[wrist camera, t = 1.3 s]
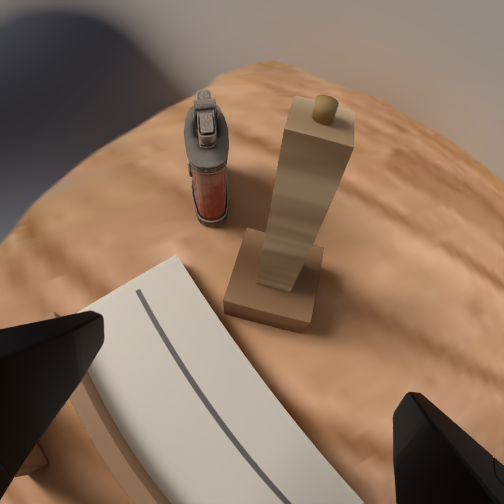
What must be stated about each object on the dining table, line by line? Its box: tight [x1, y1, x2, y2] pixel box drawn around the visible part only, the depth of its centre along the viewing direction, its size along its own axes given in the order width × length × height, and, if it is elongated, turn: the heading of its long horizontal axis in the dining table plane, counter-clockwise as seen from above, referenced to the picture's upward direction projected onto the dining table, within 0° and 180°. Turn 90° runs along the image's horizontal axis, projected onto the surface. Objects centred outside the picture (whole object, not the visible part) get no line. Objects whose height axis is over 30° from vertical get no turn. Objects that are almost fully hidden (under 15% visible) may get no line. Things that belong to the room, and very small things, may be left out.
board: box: [40, 255, 364, 504], centre depth 17 cm, size 24×12×4 cm, turn 35°
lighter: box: [184, 90, 229, 227], centre depth 24 cm, size 8×3×10 cm, turn 9°
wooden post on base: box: [223, 95, 354, 333], centre depth 17 cm, size 6×6×17 cm
